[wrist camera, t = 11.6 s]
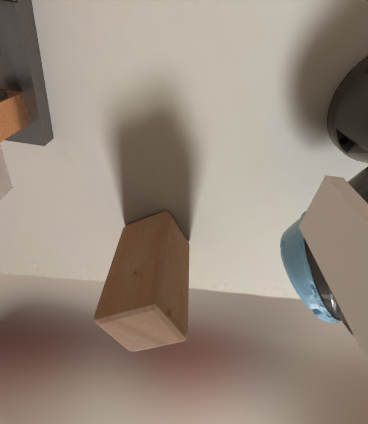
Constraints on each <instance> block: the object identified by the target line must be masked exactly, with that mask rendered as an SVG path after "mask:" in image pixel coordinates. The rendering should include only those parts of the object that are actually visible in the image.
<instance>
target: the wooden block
mask: <svg viewBox="0 0 368 424" xmlns="http://www.w3.org/2000/svg"><path fill="white" fill-rule="evenodd" d="M188 290H189V243H188V241H187V240H186V238H185V237H184V235H183V233H182V232H181V230H180V229H179V227H178V225H177V224H176V222H175V221H174V219H173V217H172V216H171V214H170V213H169V212H168V211H163V212H160V213H158V214H155V215H152V216H150V217H147V218H144V219H142V220H139V221H136V222H133V223H131V224H128V225H126V226H125V227H124V228H123V231H122V234H121V237H120V240H119V243H118V246H117V249H116V252H115V255H114V258H113V261H112V264H111V267H110V270H109V273H108V276H107V279H106V282H105V285H104V288H103V291H102V294H101V297H100V300H99V303H98V306H97V309H96V312H95V315H94V320H95V322H96V324H98V325H99V326H100V327H101V328H102V329H104V330H105V331H106V332H107V333H108V334H110V335H111V336H112V337H113V338H114V339H116V340H117V341H118V342H119V343H120V344H121V345H123V346H124V347H125V348H126V349H128V350H129V351H140V350H145V349H149V348H154V347H159V346H164V345H168V344H173V343H178V342H183V341H184V340H186V339H187V336H188Z"/></svg>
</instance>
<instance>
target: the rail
mask: <svg viewBox="0 0 368 424" xmlns="http://www.w3.org/2000/svg"><path fill="white" fill-rule="evenodd" d="M52 139H53V132H52V126H51V120H50V113H49V107H48V101H47V95H46V89H45V82H44V76H43V70H42V64H41V58H40V52H39V45H38V39H37V33H36V27H35V21H34V14H33V8H32V2H31V0H0V142H1V141H3V140H7V141H14V142H21V143H28V144H35V145H42V146H45V145H46V144H47V143H49V142H50V141H51V140H52Z"/></svg>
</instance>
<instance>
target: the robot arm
mask: <svg viewBox="0 0 368 424" xmlns="http://www.w3.org/2000/svg"><path fill="white" fill-rule="evenodd" d="M327 127H328V133H329V136H330V138H331V140H332V142H333V143H334V145H335V146H336V147H337V148H338V149H339V150H341V151H342V152H343V153H344V154H345V155H347V156H348V157H350V158H352V159H354V160H357V161H361V162H365V163H368V57H366V58H365V59H364V60H362V61H361V62H360V63H359V64H358V65H357V66H356V67H354V68H353V69H352V70H351V72H350V73H349V74H348V75H347V76H346V77H345V79H344V80H343V81H342V83H341V84H340V86H339V87H338V89H337V91H336V92H335V94H334V96H333V99H332V101H331V104H330V107H329V111H328V117H327ZM12 188H13V187H12V184H11V180H10V177H9V174H8V170H7V167H6V163H5V160H4V157H3V153H2V150H1V146H0V200H1V199H2V198H3V197H4V196H5V195H6V194H7V193H8V192H9V191H10V190H11V189H12ZM280 248H281V257H282V261H283V265H284V267H285V270H286V273H287V275H288V277H289V279H290V281H291V283H292V285H293V287H294V288H295V290H296V292H297V293H298V295H299V296H300V298H301V299H302V301H303V302H304V303H305V304H306V306H307V307H308V308H309V309H312V310H313V312H314V314H315V315H316V316H317V317H319V318H320V319H322V320H323V321H326V322H336V323H337V322H339V321H342V322H343V323H344V325H345V326H346V327H347V329H348V330H349V331H350V332H351V334H352V335H353V336H354V338H355V339H356V341H357V343H358V344H359V346H360V348H361V350H362V352H363V354H364V356H365V358H366V360H367V362H368V167H367V168H365V169H364V170H363V171H361V172H360V173H359V174H357V175H356V176H355V177H353V178H352V179H351V180H349V181H348V182H347V181H346V180H345V179H344V178H340V177H333V176H325V178H324V179H323V181H322V183H321V185H320V187H319V189H318V191H317V192H316V194H315V196H314V198H313V200H312V202H311V204H310V206H309V207H308V209H307V211H306V212H304V213H303V214H302V216H301V218H300V219H298V220H297V221H296V222H295V223H294V224H292V225H291V226H290V227H289V228H288V229H287V230H286V231H285V232H284V233H283V235H282V238H281V244H280Z"/></svg>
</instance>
